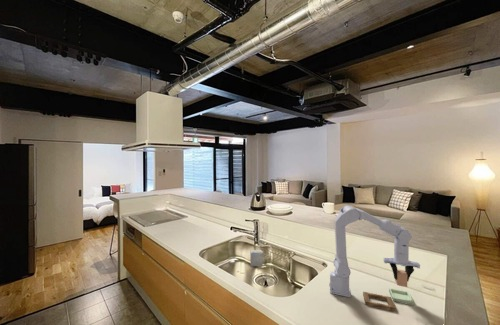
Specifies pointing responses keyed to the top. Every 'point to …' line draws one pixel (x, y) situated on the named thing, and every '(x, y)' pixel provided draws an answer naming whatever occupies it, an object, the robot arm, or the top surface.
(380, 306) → the pocket board
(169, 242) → the top surface
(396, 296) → the tray
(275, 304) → the top surface
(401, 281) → the block
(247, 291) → the top surface
